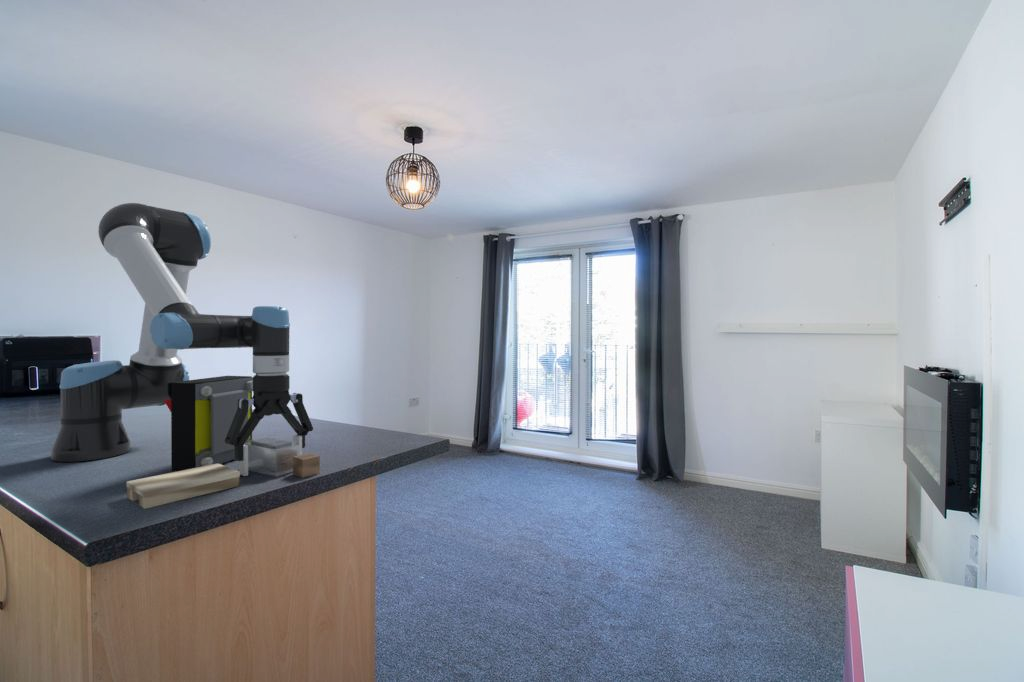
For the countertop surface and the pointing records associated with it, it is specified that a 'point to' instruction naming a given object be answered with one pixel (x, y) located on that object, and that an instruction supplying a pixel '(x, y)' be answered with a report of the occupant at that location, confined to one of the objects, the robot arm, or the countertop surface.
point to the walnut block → (306, 465)
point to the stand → (181, 485)
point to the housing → (271, 456)
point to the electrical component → (205, 419)
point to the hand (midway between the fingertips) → (271, 468)
